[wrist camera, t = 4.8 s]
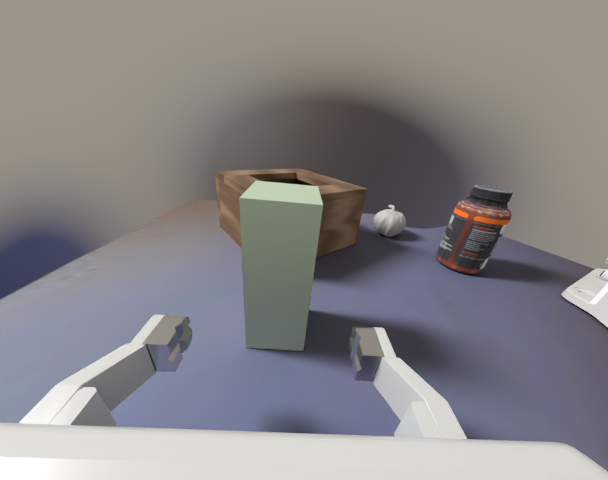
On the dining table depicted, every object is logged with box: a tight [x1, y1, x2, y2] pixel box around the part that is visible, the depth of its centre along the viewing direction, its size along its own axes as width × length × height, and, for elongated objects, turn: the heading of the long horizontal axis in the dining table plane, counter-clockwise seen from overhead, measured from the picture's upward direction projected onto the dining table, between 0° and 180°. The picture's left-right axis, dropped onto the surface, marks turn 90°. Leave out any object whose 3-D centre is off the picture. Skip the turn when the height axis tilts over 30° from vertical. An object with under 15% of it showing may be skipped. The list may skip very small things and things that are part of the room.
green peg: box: [239, 181, 323, 351], centre depth 16 cm, size 4×4×12 cm
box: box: [215, 169, 367, 258], centre depth 33 cm, size 16×16×9 cm
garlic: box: [374, 205, 406, 237], centre depth 39 cm, size 6×5×5 cm
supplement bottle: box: [436, 185, 513, 274], centre depth 29 cm, size 6×6×11 cm
